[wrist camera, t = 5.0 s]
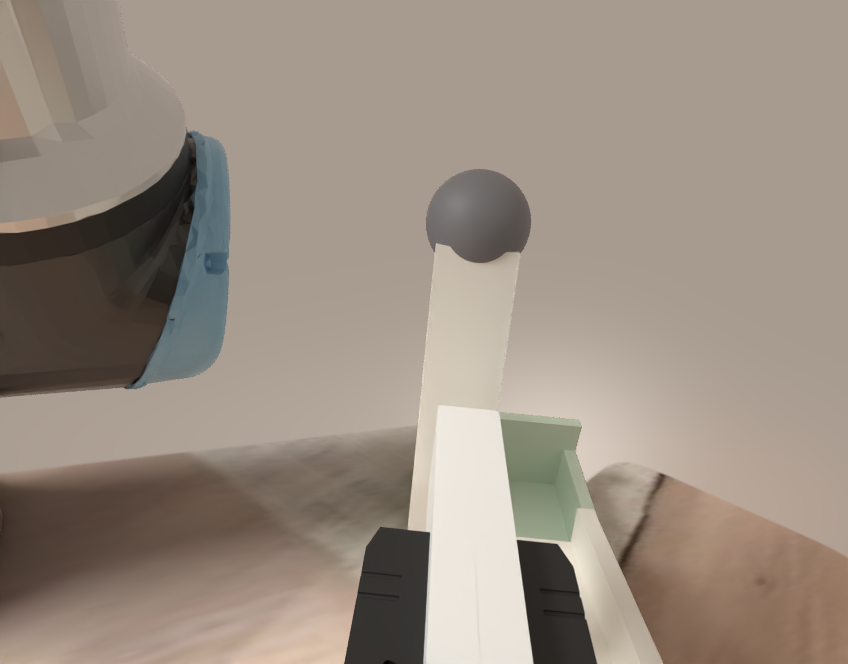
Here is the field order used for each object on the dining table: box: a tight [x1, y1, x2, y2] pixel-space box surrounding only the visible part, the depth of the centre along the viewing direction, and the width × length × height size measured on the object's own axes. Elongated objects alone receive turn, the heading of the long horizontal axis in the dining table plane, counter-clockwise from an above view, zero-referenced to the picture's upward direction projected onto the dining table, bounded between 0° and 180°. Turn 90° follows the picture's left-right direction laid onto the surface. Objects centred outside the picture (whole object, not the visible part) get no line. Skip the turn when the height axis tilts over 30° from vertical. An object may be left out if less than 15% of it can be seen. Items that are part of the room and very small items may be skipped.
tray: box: [499, 412, 598, 542], centre depth 32 cm, size 10×11×6 cm
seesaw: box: [408, 169, 663, 664], centre depth 15 cm, size 18×9×18 cm, turn 177°
